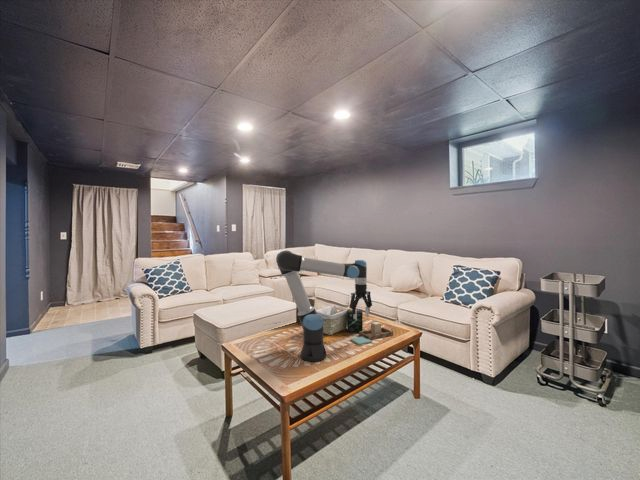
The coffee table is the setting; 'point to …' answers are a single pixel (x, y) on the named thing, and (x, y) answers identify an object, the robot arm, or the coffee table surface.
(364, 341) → the teal pad
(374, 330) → the kraft box
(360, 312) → the tampon box
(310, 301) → the wooden container
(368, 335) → the walnut bin
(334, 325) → the storage basket
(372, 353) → the coffee table surface
